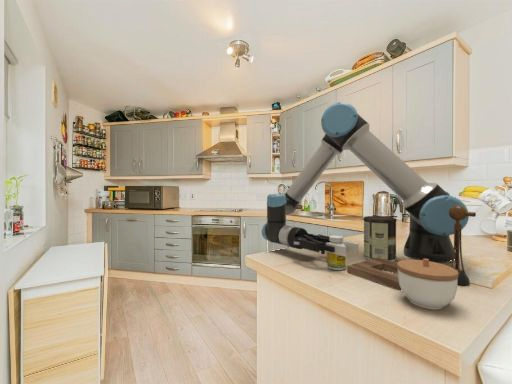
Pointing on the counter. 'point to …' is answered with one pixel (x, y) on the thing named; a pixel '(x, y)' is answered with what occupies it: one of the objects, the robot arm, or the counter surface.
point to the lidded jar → (427, 283)
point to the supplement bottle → (333, 259)
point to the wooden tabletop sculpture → (459, 241)
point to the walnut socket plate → (377, 271)
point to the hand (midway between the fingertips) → (351, 249)
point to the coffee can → (380, 238)
